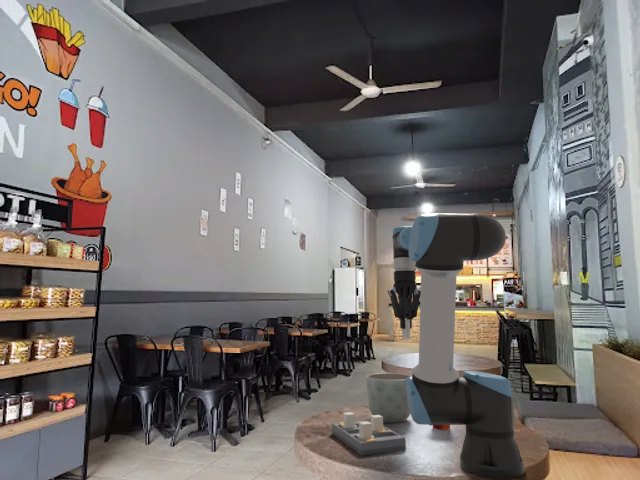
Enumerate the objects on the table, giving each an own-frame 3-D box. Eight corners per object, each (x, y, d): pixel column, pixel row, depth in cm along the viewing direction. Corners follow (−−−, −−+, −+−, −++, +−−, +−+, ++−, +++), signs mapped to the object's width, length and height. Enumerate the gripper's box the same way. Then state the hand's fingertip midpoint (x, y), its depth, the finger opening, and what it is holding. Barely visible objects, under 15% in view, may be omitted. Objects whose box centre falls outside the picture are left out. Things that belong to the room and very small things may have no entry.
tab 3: (385, 436, 135) (385, 416, 136) (373, 437, 134) (373, 417, 135) (380, 433, 139) (380, 414, 139) (368, 434, 137) (368, 415, 138)
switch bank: (405, 449, 127) (405, 437, 128) (361, 455, 122) (360, 442, 123) (371, 429, 148) (371, 418, 148) (332, 433, 143) (332, 422, 143)
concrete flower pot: (412, 428, 150) (411, 381, 152) (362, 424, 154) (362, 378, 156) (416, 416, 166) (415, 373, 168) (371, 413, 170) (370, 372, 173)
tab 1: (357, 433, 139) (357, 414, 140) (345, 434, 138) (345, 415, 138) (352, 430, 142) (352, 411, 143) (341, 431, 141) (341, 412, 141)
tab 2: (374, 444, 128) (374, 423, 128) (361, 445, 126) (361, 424, 127) (369, 440, 131) (369, 420, 132) (356, 442, 129) (356, 422, 130)
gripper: (414, 271, 163) (416, 337, 160) (383, 270, 159) (384, 338, 156) (426, 270, 156) (428, 338, 153) (393, 269, 152) (395, 339, 149)
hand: (406, 338), depth 154 cm, fingers closed
